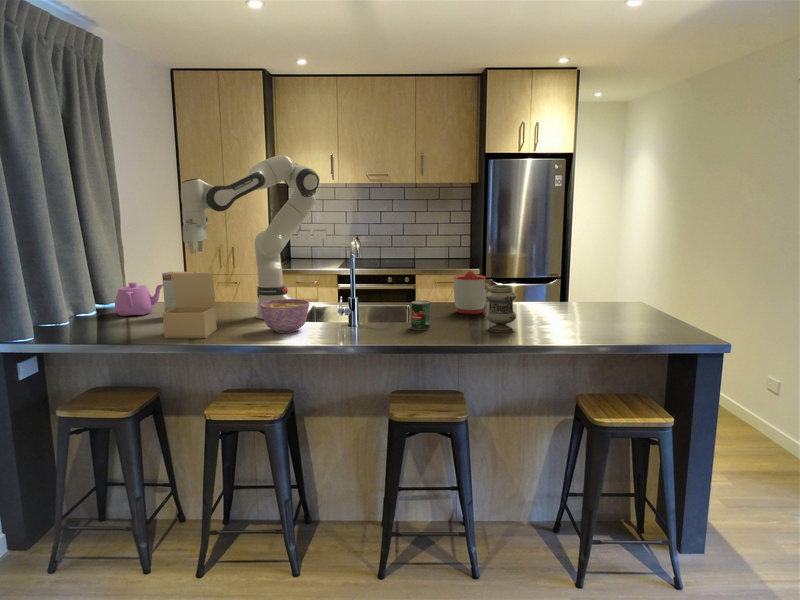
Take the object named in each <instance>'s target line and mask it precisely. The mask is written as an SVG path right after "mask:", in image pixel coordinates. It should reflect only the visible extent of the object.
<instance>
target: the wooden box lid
mask: <svg viewBox="0 0 800 600" xmlns="http://www.w3.org/2000/svg"><path fill="white" fill-rule="evenodd" d="M213 274H214V273H213V272H197V273H172V276H173V284H174V292H175V301H176V307H214V306H215V307H217V303H216V296H215V295H216V294H215V284H214V275H213Z"/></svg>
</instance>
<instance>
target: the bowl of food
mask: <svg viewBox="0 0 800 600" xmlns="http://www.w3.org/2000/svg"><path fill="white" fill-rule="evenodd" d="M260 308H261V311H262V315H263V318H264V319H263V321H264V323H265V325H266V326H267V328H268V329H271V330H273V331H275V332H276V333H279V334H289V333H295V332H296V331H297V330H299V329H301V328H302V327H303V326H305V324H306V322H307V317H308V312H309V308H310V301H309V300H305V299H299V298H294V299H279V300H271V301H266V302H262V303H260Z"/></svg>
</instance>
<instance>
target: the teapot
mask: <svg viewBox="0 0 800 600" xmlns="http://www.w3.org/2000/svg"><path fill="white" fill-rule="evenodd" d="M137 284H138V282H128V285H126V286H120V287H119V289H118V291H117V293H116V295H115V296H116V297H115V300H114V310H115V312H116V314H117V315H118V316H122V317H129V316H139V315H142V316H145V315H146V314H147V315H148V314H149V313H151V312H152V311H153V309H154V306H155V305H156V304H157V303H158V302H159V300H160V293H161V288H163V283H162V284H158V285H157V286H156V287H155V293H154V295H153V296H152V294H151V291H150V290H149V288H148V286H147V285H137Z"/></svg>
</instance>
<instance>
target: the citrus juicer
mask: <svg viewBox="0 0 800 600" xmlns="http://www.w3.org/2000/svg"><path fill="white" fill-rule="evenodd" d="M453 279H454V280H453V282H454V283H453V289H454V290H453V298H454V299H453V300H454V304H455V309H456V312H458V313H460V314H462V315H464V314H465V315H467V314H468V315H479V314H481V313H483V311H484V309H485V306H486V302H487V301H486V300H487V297H486V295H487V289H491V286H490V283H489V284H488V283H487V276H486V275H480V274H479V275H478V274H475V273H474V272H473V270H469V271H468V272H467V273H466V274H460V275H455V276H453Z"/></svg>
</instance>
